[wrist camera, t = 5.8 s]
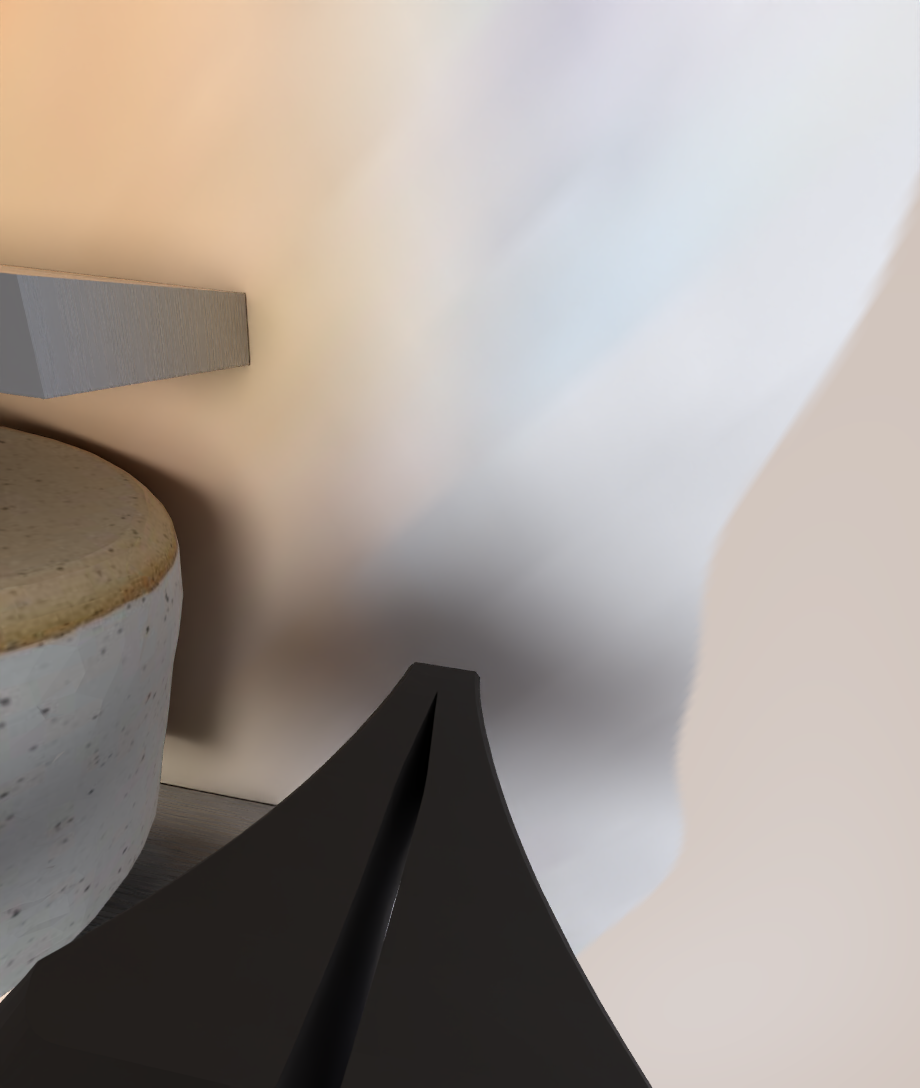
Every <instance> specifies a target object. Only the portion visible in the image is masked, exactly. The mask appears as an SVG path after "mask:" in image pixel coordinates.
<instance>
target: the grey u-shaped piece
mask: <svg viewBox="0 0 920 1088" xmlns="http://www.w3.org/2000/svg"><path fill="white" fill-rule="evenodd" d="M245 365H249V350H248V334H247V318H246V303H245V293H237V292H228V291H220V290H211V289H203V288H195V287H186V286H178V285H169V284H161V283H152V282H144V281H135V280H127V279H119V278H110V277H102V276H93V275H85V274H76V273H68V272H59V271H51V270H42V269H34V268H26V267H17V266H9V265H0V393H6V394H14V395H21V396H28V397H35V398H43V399H47V398H53V397H59V396H65V395H71V394H77V393H83V392H89V391H95V390H101V389H107V388H113V387H119V386H125V385H131V384H137V383H143V382H149V381H155V380H161V379H167V378H173V377H179V376H185V375H191V374H197V373H203V372H209V371H215V370H221V369H227V368H233V367H239V366H245ZM274 807H275V806H270V805H265V804H260V803H255V802H250V801H245V800H239V799H234V798H229V797H224V796H219V795H214V794H209V793H204V792H199V791H193V790H188V789H183V788H178V787H173V786H168V785H163V784H160V788H159V795H158V802H157V809H156V815H155V818H154V821H153V823H152V826H151V829H150V831H149V834H148V837H147V839H146V842H145V845H144V847H143V849H142V851H141V853H140V854H139V856H138V858H137V860H136V861H135V863H134V865H133V866H132V868H131V870H130V871H129V873H128V875H127V876H126V878H125V879H124V880H123V881H122V883H121V884H120V885H119V887H118V888H117V889H116V891H115V892H114V893H113V894H112V896H111V897H110V898H109V900H108V901H107V902H106V904H105V905H104V906H103V908H102V909H101V910H100V911H99V913H98V914H97V915H96V917H95V918H94V919H93V920H92V921H91V922H90V923H89V924H88V925H87V926H86V927H85V928H84V929H83V930H82V931H81V932H80V933H79V934H78V935H77V936H76V937H75V938H74V939H73V940H75V939H77V938H79V937H80V936H82V935H84V934H85V933H87V932H89V931H91V930H92V929H94V928H96V927H97V926H99V925H101V924H103V923H104V922H106V921H108V920H110V919H111V918H113V917H115V916H116V915H118V914H120V913H122V912H123V911H125V910H127V909H128V908H130V907H132V906H134V905H135V904H137V903H138V902H140V901H142V900H143V899H145V898H146V897H148V896H150V895H151V894H153V893H154V892H156V891H158V890H159V889H161V888H162V887H164V886H165V885H167V884H168V883H170V882H171V881H173V880H174V879H176V878H177V877H179V876H180V875H182V874H183V873H185V872H186V871H188V870H189V869H191V868H192V867H194V866H195V865H197V864H198V863H200V862H201V861H203V860H204V859H206V858H207V857H209V856H210V855H212V854H213V853H215V852H216V851H217V850H219V849H220V848H222V847H223V846H224V845H226V844H227V843H229V842H230V841H231V840H233V839H234V838H235V837H237V836H238V835H240V834H241V833H242V832H244V831H245V830H246V829H247V828H249V827H250V826H251V825H253V824H254V823H255V822H256V821H258V820H259V819H260V818H262V817H263V816H264V815H265V814H267V813H268V812H269V811H271V810H272V809H273V808H274ZM73 940H72V941H73ZM72 941H71V942H72Z"/></svg>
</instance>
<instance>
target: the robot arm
mask: <svg viewBox="0 0 920 1088" xmlns="http://www.w3.org/2000/svg"><path fill="white" fill-rule="evenodd" d="M399 885H400V886H399ZM398 888H399V889H398ZM397 891H398V893H397ZM396 895H397V897H396ZM395 898H396V900H395ZM394 901H395V904H394ZM393 904H394V907H393ZM392 908H393V911H392ZM391 912H392V914H391ZM390 915H391V918H390ZM389 919H390V921H389ZM388 923H389V925H388ZM387 927H388V929H387ZM386 930H387V932H386ZM385 934H386V936H385ZM384 938H385V939H384ZM0 1088H652V1087H651V1085H650V1083H649V1081H648V1080H647V1078H646V1077H645V1075H644V1073H643V1072H642V1070H641V1069H640V1067H639V1065H638V1064H637V1062H636V1061H635V1059H634V1057H633V1056H632V1054H631V1052H630V1051H629V1049H628V1048H627V1046H626V1044H625V1043H624V1041H623V1039H622V1038H621V1036H620V1034H619V1032H618V1031H617V1029H616V1027H615V1026H614V1024H613V1022H612V1021H611V1019H610V1017H609V1016H608V1014H607V1012H606V1011H605V1009H604V1007H603V1005H602V1004H601V1002H600V1000H599V999H598V997H597V995H596V993H595V991H594V989H593V988H592V986H591V984H590V982H589V981H588V979H587V977H586V975H585V973H584V971H583V970H582V968H581V966H580V964H579V962H578V961H577V959H576V957H575V955H574V953H573V951H572V949H571V947H570V945H569V943H568V941H567V939H566V937H565V935H564V933H563V931H562V929H561V927H560V925H559V923H558V921H557V919H556V917H555V915H554V913H553V911H552V909H551V907H550V905H549V903H548V902H547V900H546V898H545V896H544V894H543V892H542V889H541V887H540V885H539V883H538V881H537V878H536V876H535V874H534V871H533V869H532V867H531V865H530V862H529V860H528V858H527V856H526V853H525V851H524V848H523V846H522V843H521V841H520V838H519V836H518V834H517V831H516V828H515V826H514V823H513V821H512V818H511V815H510V812H509V810H508V807H507V804H506V801H505V798H504V795H503V792H502V789H501V786H500V783H499V780H498V776H497V773H496V769H495V766H494V763H493V759H492V755H491V751H490V747H489V743H488V739H487V735H486V730H485V726H484V720H483V714H482V708H481V701H480V677H479V676H478V674H477V673H476V672H474V671H468V670H461V669H455V668H449V667H443V666H437V665H430V664H424V663H418V662H415V663H414V664H412V665H411V666H410V667H409V668H408V670H407V671H406V673H405V674H404V676H403V677H402V678H401V680H400V681H399V682H398V684H397V685H396V686H395V688H394V689H393V690H392V691H391V693H390V694H389V695H388V696H387V698H386V699H385V700H384V701H383V702H382V704H381V705H380V706H379V707H378V708H377V709H376V711H375V712H374V713H373V714H372V715H371V716H370V717H369V718H368V720H367V721H366V722H365V723H364V724H363V725H362V726H361V727H360V728H359V730H358V731H357V732H356V733H355V734H354V735H353V736H352V737H351V738H350V739H349V740H348V741H347V742H346V743H345V744H344V745H343V746H342V747H341V748H340V749H339V750H338V751H337V752H336V753H335V754H334V755H333V756H332V757H331V758H330V759H329V760H328V761H327V762H326V763H325V764H324V765H323V766H322V767H321V768H319V769H318V770H317V771H316V772H315V773H314V774H313V775H312V776H311V777H310V778H309V779H307V780H306V781H305V782H304V783H303V784H302V785H301V786H299V787H298V788H297V789H296V790H295V791H294V792H292V793H291V794H290V795H289V796H288V797H287V798H285V799H284V800H283V801H282V802H281V803H279V804H278V805H277V806H276V807H274V808H273V809H272V810H271V811H269V812H268V813H267V814H265V815H264V816H263V817H262V818H260V819H259V820H258V821H256V822H255V823H254V824H253V825H251V826H250V827H249V828H247V829H246V830H245V831H244V832H242V833H241V834H240V835H238V836H237V837H235V838H234V839H233V840H231V841H230V842H229V843H227V844H226V845H224V846H223V847H222V848H220V849H219V850H217V851H216V852H215V853H213V854H212V855H210V856H209V857H207V858H206V859H204V860H203V861H201V862H200V863H198V864H197V865H195V866H194V867H192V868H191V869H189V870H188V871H186V872H185V873H183V874H182V875H180V876H179V877H177V878H176V879H174V880H173V881H171V882H170V883H168V884H167V885H165V886H164V887H162V888H161V889H159V890H158V891H156V892H154V893H153V894H151V895H150V896H148V897H146V898H145V899H143V900H142V901H140V902H138V903H137V904H135V905H134V906H132V907H130V908H128V909H127V910H125V911H123V912H122V913H120V914H118V915H116V916H115V917H113V918H111V919H110V920H108V921H106V922H104V923H103V924H101V925H99V926H97V927H96V928H94V929H92V930H91V931H89V932H87V933H85V934H84V935H82V936H80V937H79V938H77V939H75V940H73V941H72V942H70V943H68V944H67V945H65V946H63V947H61V948H60V949H58V950H56V951H54V952H53V953H51V954H49V955H47V956H45V957H44V958H42V959H40V960H38V961H37V962H36V964H35V965H34V966H33V967H32V968H31V970H30V971H29V972H28V973H27V974H26V976H25V977H24V978H23V979H22V980H21V981H20V982H19V983H18V984H17V985H16V986H15V988H14V989H13V990H12V991H11V992H10V993H9V994H8V995H7V996H6V997H5V998H4V999H3V1001H2V1002H1V1003H0Z"/></svg>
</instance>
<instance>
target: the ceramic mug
mask: <svg viewBox="0 0 920 1088" xmlns="http://www.w3.org/2000/svg"><path fill="white" fill-rule="evenodd" d="M182 601H183V587H182V578H181V565H180V551H179V544H178V540H177V536H176V533H175V529H174V526H173V522H172V519H171V518H170V516H169V514H168V513H167V511H166V509H165V507H164V506H163V504H162V503H161V502H160V501H159V500H158V499H157V498H156V497H155V496H154V495H153V494H152V493H151V492H150V491H149V490H148V489H147V488H146V487H145V486H144V485H143V484H142V483H140V482H139V481H138V480H137V479H136V478H134V477H133V476H131V475H130V474H129V473H127V472H126V471H124V470H122V469H121V468H119V467H117V466H115V465H113V464H112V463H110V462H108V461H106V460H104V459H102V458H101V457H99V456H97V455H95V454H93V453H90V452H88V451H85V450H83V449H80V448H78V447H75V446H72V445H69V444H66V443H63V442H60V441H57V440H54V439H50V438H46V437H43V436H39V435H35V434H31V433H27V432H23V431H19V430H16V429H12V428H8V427H4V426H0V997H1V996H3V995H4V994H6V993H7V992H8V991H10V990H11V989H13V988H14V987H15V986H16V985H17V984H18V983H19V982H20V981H21V980H22V979H23V978H24V977H25V976H26V974H27V973H28V972H29V971H30V970H31V968H32V967H33V966H34V965H35V964H36V962H37V961H38V960H40V959H42V958H44V957H45V956H47V955H49V954H51V953H53V952H54V951H56V950H58V949H60V948H61V947H63V946H65V945H67V944H68V943H70V942H71V941H72V940H73V939H74V938H75V937H76V936H77V935H78V934H79V933H80V932H81V931H82V930H83V929H84V928H85V927H86V926H87V925H88V924H89V923H90V922H91V921H92V920H93V919H94V918H95V917H96V915H97V914H98V913H99V911H100V910H101V909H102V908H103V906H104V905H105V904H106V902H107V901H108V900H109V898H110V897H111V896H112V894H113V893H114V892H115V891H116V889H117V888H118V887H119V885H120V884H121V883H122V881H123V880H124V879H125V878H126V876H127V875H128V873H129V871H130V870H131V868H132V866H133V865H134V863H135V861H136V860H137V858H138V856H139V854H140V853H141V851H142V849H143V847H144V845H145V842H146V839H147V837H148V834H149V831H150V829H151V826H152V823H153V821H154V818H155V815H156V809H157V802H158V795H159V788H160V779H161V769H162V758H163V747H164V741H165V735H166V729H167V721H168V712H169V703H170V693H171V683H172V673H173V663H174V657H175V652H176V647H177V642H178V637H179V629H180V620H181V611H182Z"/></svg>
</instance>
